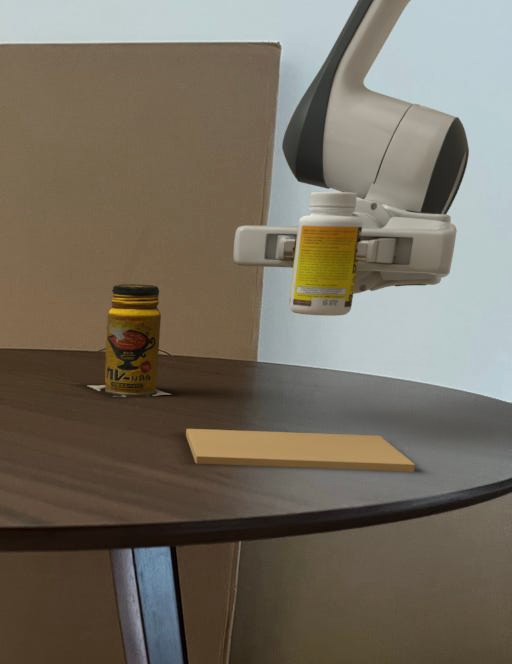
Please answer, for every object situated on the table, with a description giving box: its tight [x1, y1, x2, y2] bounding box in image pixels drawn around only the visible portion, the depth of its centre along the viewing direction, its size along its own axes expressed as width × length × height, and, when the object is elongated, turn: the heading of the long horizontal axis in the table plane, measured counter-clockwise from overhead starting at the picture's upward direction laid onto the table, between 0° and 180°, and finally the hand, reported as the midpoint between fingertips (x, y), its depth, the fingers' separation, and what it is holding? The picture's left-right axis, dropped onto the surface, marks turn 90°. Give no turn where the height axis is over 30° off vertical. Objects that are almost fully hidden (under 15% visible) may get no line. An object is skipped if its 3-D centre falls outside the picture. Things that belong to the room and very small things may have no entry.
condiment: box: [88, 283, 172, 398], centre depth 119 cm, size 7×8×12 cm
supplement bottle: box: [289, 191, 362, 317], centre depth 92 cm, size 6×6×10 cm
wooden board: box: [185, 428, 416, 473], centre depth 91 cm, size 18×12×1 cm, turn 86°
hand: (325, 250), depth 92 cm, fingers closed on supplement bottle, 5 cm apart
